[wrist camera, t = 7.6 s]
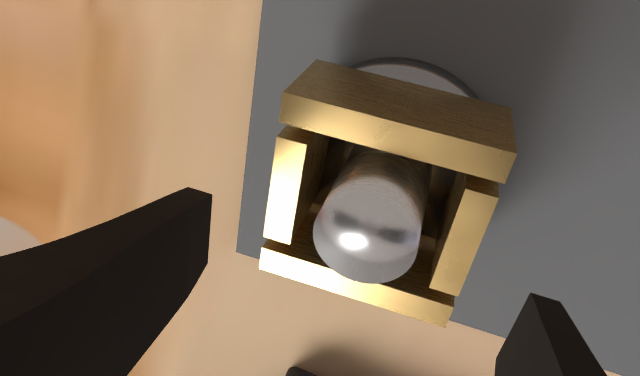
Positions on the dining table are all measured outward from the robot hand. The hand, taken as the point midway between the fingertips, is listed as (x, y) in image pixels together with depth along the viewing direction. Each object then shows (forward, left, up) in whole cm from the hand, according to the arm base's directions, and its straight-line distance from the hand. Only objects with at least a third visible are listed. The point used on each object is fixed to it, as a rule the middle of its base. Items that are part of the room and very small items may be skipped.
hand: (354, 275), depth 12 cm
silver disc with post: (0, 0, -6) cm, 6 cm away
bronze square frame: (0, 0, -5) cm, 5 cm away
